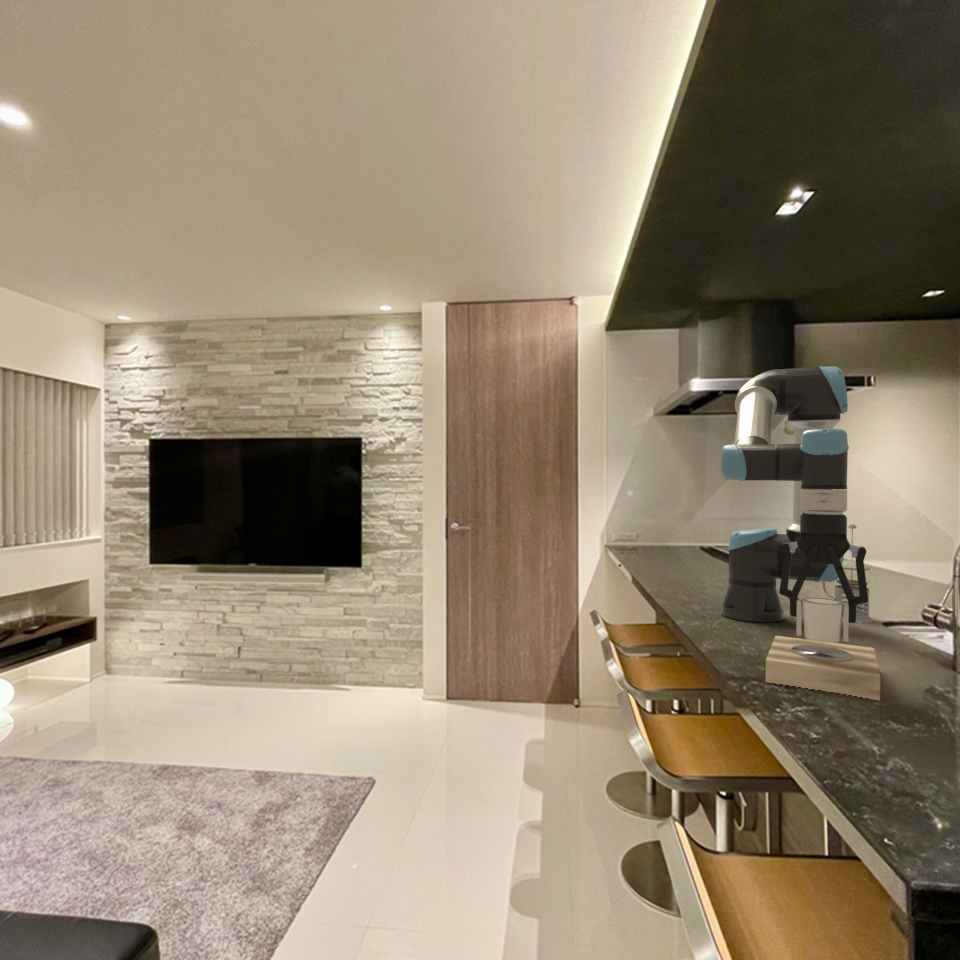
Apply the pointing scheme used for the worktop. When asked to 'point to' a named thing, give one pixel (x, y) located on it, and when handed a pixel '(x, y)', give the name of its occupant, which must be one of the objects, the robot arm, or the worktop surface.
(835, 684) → the birch stand
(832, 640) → the tapered cream cylinder
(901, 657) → the worktop surface
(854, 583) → the french press
